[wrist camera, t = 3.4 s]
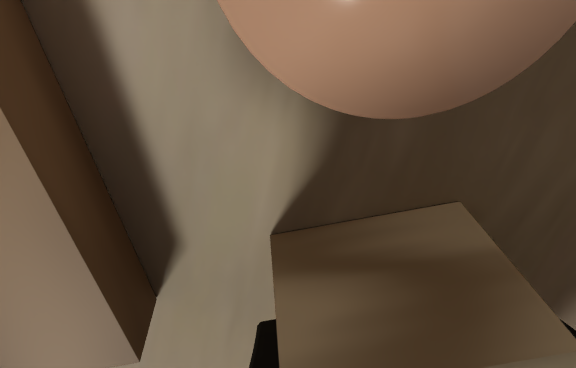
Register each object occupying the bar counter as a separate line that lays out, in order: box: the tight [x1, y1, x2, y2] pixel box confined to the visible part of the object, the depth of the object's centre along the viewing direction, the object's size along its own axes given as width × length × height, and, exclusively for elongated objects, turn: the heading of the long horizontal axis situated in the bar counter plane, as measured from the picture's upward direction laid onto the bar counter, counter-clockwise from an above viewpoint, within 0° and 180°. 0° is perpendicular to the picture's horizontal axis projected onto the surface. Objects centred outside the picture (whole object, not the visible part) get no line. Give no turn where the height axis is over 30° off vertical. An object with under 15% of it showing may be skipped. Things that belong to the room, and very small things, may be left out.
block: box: [270, 202, 576, 368], centre depth 10 cm, size 5×5×4 cm
